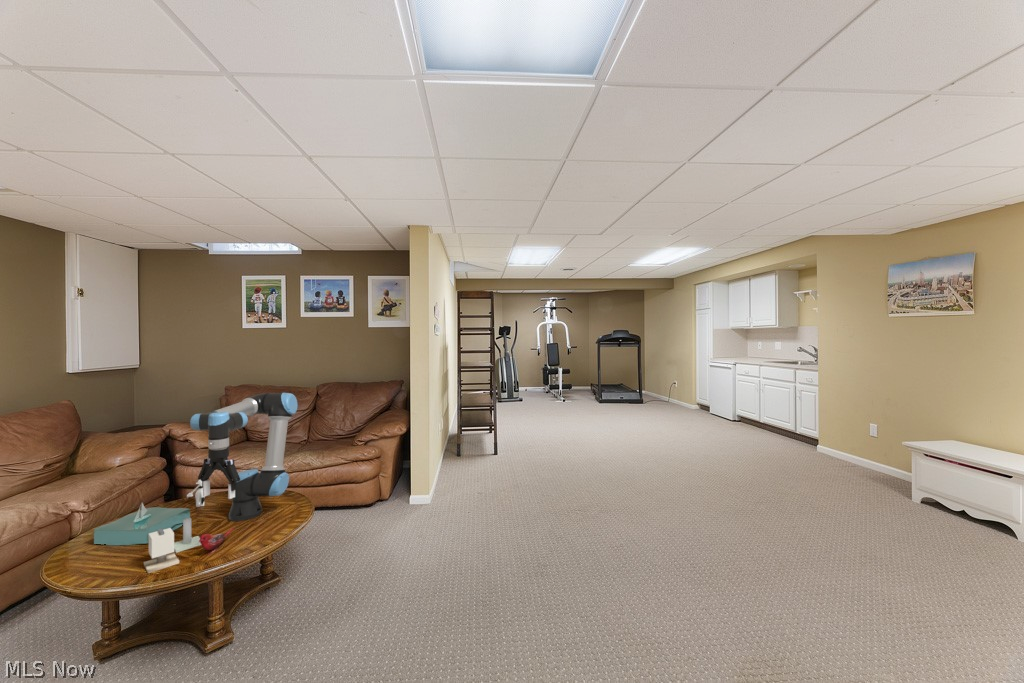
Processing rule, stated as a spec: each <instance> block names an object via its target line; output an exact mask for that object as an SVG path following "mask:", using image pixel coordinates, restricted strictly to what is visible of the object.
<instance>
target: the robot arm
mask: <svg viewBox="0 0 1024 683" xmlns="http://www.w3.org/2000/svg"><path fill="white" fill-rule="evenodd" d="M297 410H298V399H297V397H296V395H294V394H293V393H290V392H264V393H263V392H262V393H259V394H255V395H252V396H248V397H246V398H244V399H242V400H241V401H240V402H237V403H233V404H231V405H229V406H224V407H222V408H219V409H215V410H213V411H210V412H207V413H201V412H200V413H196V414H193V415H192V416H191V418H190V421H189V423H190V424H189V425H190V428H191V429H192V430H194V431H208V434H207V436H208V439H207V440H208V441H207V444H208V453H207V456H208V457H207V458H204V459H203V464H202V467H201V468H200V471H199V474H198V476H197V480H201V481H202V488H203V497H207V496H210V495H211V479H210V477H211V476H212V474H213V473H214V472H215V471H220V472H222V474H223V475H224V476H225V478H226V479H227V481H228V482H229V483H227V485H228V487H227V490H228V491H227V494H228V495H227V499H228V500H232V503H231V507H230V510H229V513H228V520H230V521H231V522H243V520H244V521H247V520H248V519H249V520H252V519H254V518H257V517H260V516H261V515H262V514H261V513H263V507H262V504H261V502H260V498H259V497H279V496H281V495H283V493H285V491H286V489H288V486H289V483H290V482H289V481H290V476H289V473H288V472H286V468H285V466H284V458H285V452H286V450H285V449H286V442H287V434H288V432H287V431H288V424H289V420H291V419H292V417H293V415H295V414H296V413H297ZM254 415H267V418H268V419H269V420H270V421H269V430H268V435H267V445H266V451H265V459H264V460H265V461H264V466H263V467H262V468H261V469H260V471H259V470H258V468H252V469H246V470H243V471H239V472H238V470H237V468H236V465H235V460H234V459H233V458H232V459H228V457H229V456H230V432H232V431H236V430H239V429H242V428H244V427H245V426H247V424H248V421H249V419H248V418H249V417H248V416H254ZM260 514H261V515H260Z"/></svg>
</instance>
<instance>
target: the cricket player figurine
mask: <svg viewBox="0 0 1024 683" xmlns="http://www.w3.org/2000/svg"><path fill="white" fill-rule="evenodd" d="M195 485H197V486H196V487H194V489H193V490H191V491H190V492H189V493H187V494H186V498H190V497H191V498H195V506H196V508H199V507H205V500H206V499H205V497H206V496H205V497H203V488H202V481H201V480H200V479H197V481H196V482H195ZM195 491H196V492H195ZM194 492H195V494H194Z"/></svg>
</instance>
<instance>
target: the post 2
mask: <svg viewBox="0 0 1024 683" xmlns="http://www.w3.org/2000/svg"><path fill="white" fill-rule="evenodd" d="M199 540H200V536H199V535H197V536H194V537H192V517H190V518H186V519H184V520H183V526H182V540H179V541H174V553H175V554H177V553H181V552H183V551H186V550H189V549H192V548H196V547H199V546H202V545H201V543H200V542H199Z"/></svg>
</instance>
